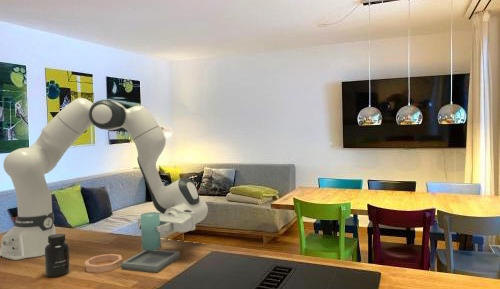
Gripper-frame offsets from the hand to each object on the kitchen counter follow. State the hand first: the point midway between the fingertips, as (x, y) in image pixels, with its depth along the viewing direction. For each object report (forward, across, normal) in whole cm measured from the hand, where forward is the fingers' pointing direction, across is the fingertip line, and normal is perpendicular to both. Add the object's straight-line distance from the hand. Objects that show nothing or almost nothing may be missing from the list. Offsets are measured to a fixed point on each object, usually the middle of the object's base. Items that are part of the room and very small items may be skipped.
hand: (148, 228), depth 122 cm
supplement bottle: (+18, -21, +12) cm, 30 cm away
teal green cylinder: (-1, 0, +6) cm, 7 cm away
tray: (-1, 0, +12) cm, 12 cm away
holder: (+8, -13, +12) cm, 19 cm away
